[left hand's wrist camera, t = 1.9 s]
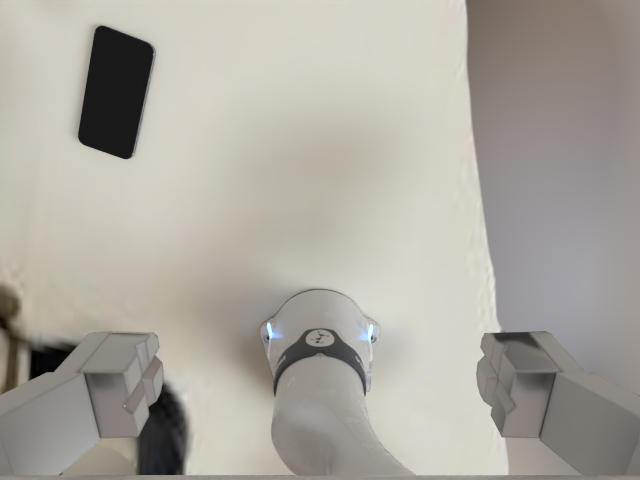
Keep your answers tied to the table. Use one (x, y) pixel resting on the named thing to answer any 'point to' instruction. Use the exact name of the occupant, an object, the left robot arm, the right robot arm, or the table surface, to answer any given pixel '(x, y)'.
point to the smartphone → (115, 92)
